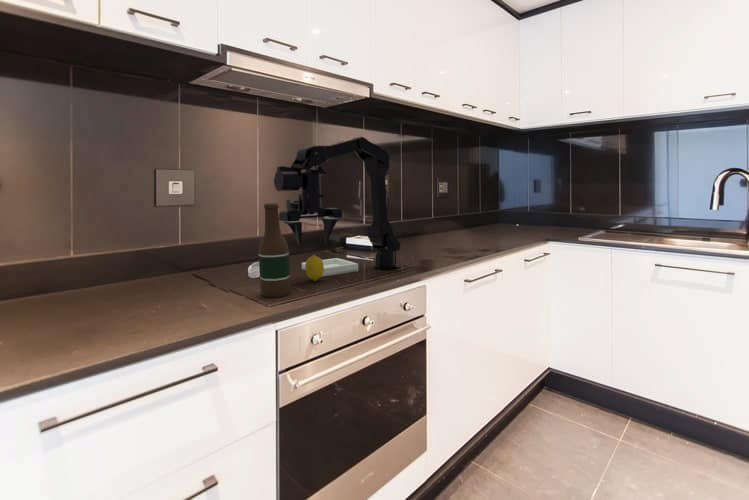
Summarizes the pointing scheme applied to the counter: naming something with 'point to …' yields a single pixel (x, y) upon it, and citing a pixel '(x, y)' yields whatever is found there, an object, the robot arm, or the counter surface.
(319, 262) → the lemon
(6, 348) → the counter surface
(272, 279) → the beer bottle
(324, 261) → the tray
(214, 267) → the counter surface
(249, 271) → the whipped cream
